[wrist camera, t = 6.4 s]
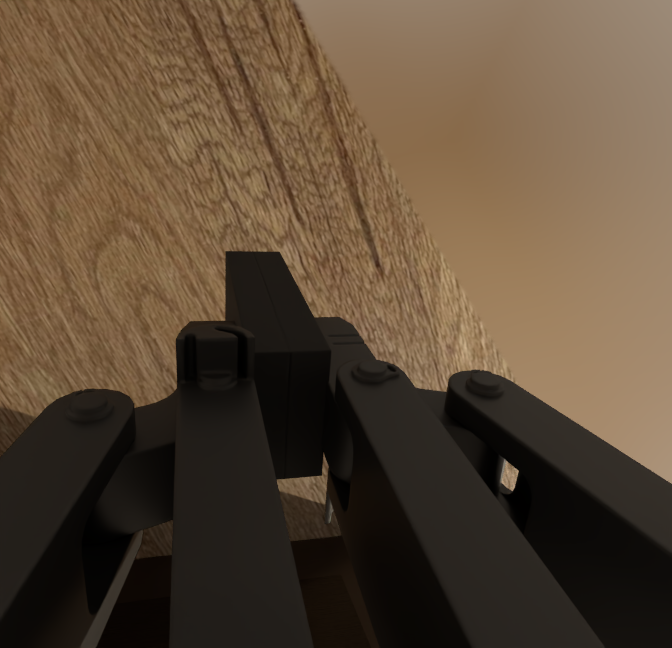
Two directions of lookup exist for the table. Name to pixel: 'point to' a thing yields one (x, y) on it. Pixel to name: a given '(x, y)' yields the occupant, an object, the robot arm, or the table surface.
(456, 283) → the table surface
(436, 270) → the table surface
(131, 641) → the oven door
